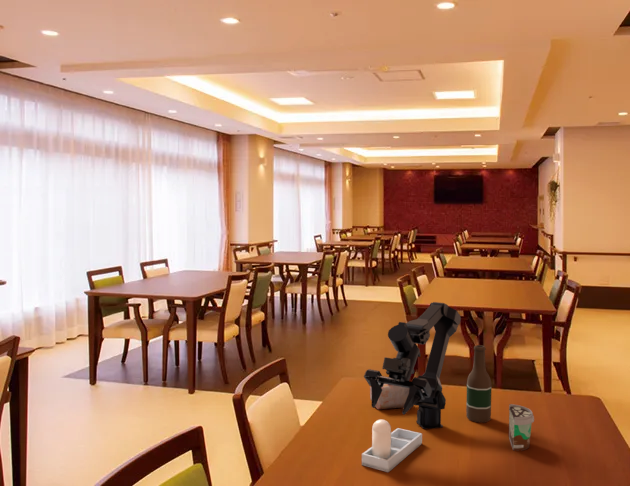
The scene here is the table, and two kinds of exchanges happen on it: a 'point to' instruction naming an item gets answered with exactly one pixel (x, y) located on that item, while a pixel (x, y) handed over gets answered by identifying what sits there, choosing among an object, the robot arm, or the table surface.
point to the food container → (520, 426)
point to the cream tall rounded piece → (381, 439)
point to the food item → (391, 397)
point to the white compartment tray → (394, 450)
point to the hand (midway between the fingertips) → (387, 410)
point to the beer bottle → (479, 389)
